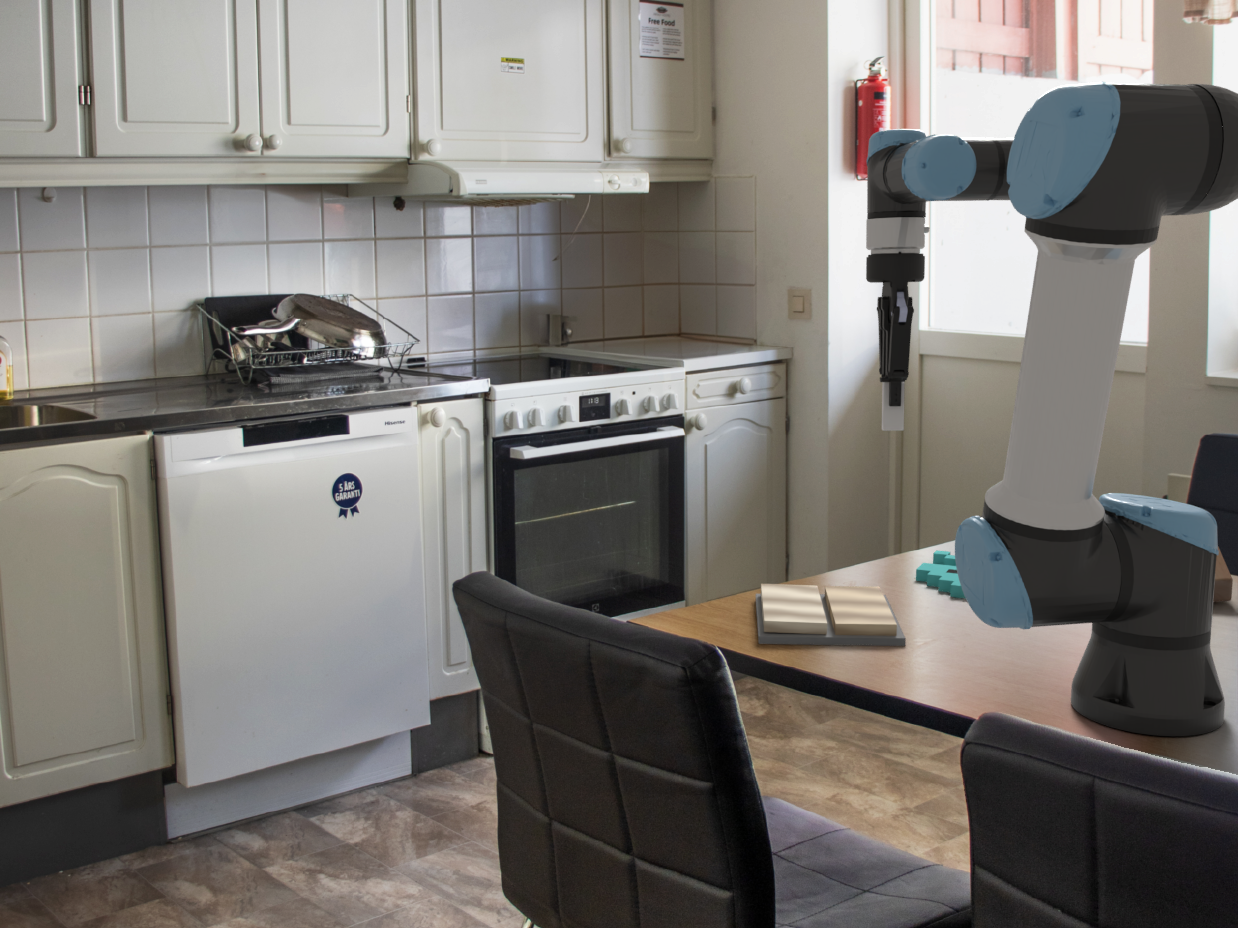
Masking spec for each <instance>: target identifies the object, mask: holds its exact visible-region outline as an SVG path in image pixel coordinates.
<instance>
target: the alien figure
mask: <svg viewBox="0 0 1238 928" xmlns="http://www.w3.org/2000/svg"><path fill="white" fill-rule="evenodd" d="M932 560H933V561H932V563H929V562H922V563H921V564H920V565H919V566H917V568H916V569H915V581H916V582H926V586H927V587H935V588H937V589H938V592H943V593H950V595H949V597H950V598H957V599H958V598H959V599H966V598H965V596H964V593H963V590H962V587H961V584H960V581H959V577H958V573H957V568H956V561H955V554H954V555H953V554H951V551H946V550H935V552H933V556H932Z"/></svg>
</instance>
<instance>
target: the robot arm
mask: <svg viewBox="0 0 1238 928" xmlns="http://www.w3.org/2000/svg"><path fill="white" fill-rule="evenodd" d="M869 137H870V138H869V139H868V147H867V148H868V151H867V157H866V166H867V173H866V174H867V176H866V177H867V179H866V181H867V183H866V184H867V185H866V187H867V190H866V191H867V197H866V198H867V200H866V201H867V207H866V209H867V210H866V211H867V212H866V213H867V216H866V217H867V218H866V220H865V221H866V222H865V223H866V225H865V226H866V230H865V233H866V235H865V237H866V238H865V242H866V246H865V248H866V249H867V251H870V254H868V255H867V256H866V261H865V262H866V269H865V276H866V277H865V279H866V281H867V282H868V283H871V284H872V283H875V284H877V283H882V289H881V296H878V297H877V304H876V305H877V307H876V312H877V321H878V352H879V353H878V354H879V355H878V356H879V359H878V360H879V368H878V369H879V370H878V372H879V375H881V377H879V382H880V383H881V386H882V387H881V388H882V389H881V431H884V432H886V431H887V432H891V431H894V432H898V431H900V432H901V431H905V383H906V381H907V380H908V378H909V375H910V374H909V373H910V371H909V365H910V354H911V351H910V349H911V338H912V322H913V318H914V317H913V316H914V313H915V309H914V306H913V297H912V296H910V295H909V286H908V285H909V283H918V282H919V283H921V282H922V281H924V280H925V270H926V267H925V266H926V262H925V261H926V256H925V255H924V253H921V250H923V249H924V248H925V243H926V242H925V240H926V234H928V233H929V232H930V226H929V225H925V224H926V215H927V213H926V208H927V207H926V206H927V202H964V201H965V202H966V201H967V202H968V201H969V202H970V201H974V202H975V201H1010V203H1011V205H1012V207H1013V208H1014V209H1015V211H1016V212H1017V213H1019V214H1020V215H1022V216H1024V217H1025V224H1024V233H1025V234H1026V235H1027V236H1028V237H1029V239H1030V240H1031V242H1032V243H1033V244H1034V245H1035V247H1036V249H1037V256H1036V260H1035V261H1036V263H1035V268H1034V269H1035V270H1034V276H1033V282H1032V288H1031V294H1030V301H1029V309H1028V314H1027V319H1026V320H1027V321H1026V329H1025V334H1024V340H1023V341H1024V342H1023V347H1022V352H1021V353H1022V354H1021V361H1020V368H1019V373H1018V378H1017V379H1018V380H1017V385H1016V392H1015V399H1014V406H1013V411H1012V413H1013V414H1012V419H1011V425H1010V432H1009V439H1008V444H1007V445H1008V447H1007V451H1006V452H1007V453H1006V458H1005V465H1004V471H1003V476H1002V477H1003V478H1002V480H1000V481H998V482H997V483H996V484H993V485H992V486H991V487H989V488H988V489H987V490H986V492H985V494H984V502H983V508H982V514H981V516H980V515H972V516H970V517H967V518H965V519H964V520H963V521H962V522H961V523H960V524H959V526H958V528H957V530H956V533H955V539H954V540H955V541H954V555H955V561H956V568H957V573H958V577H959V581H960V584H961V587H962V590H963V593H964V596H965V598H964V599H965V600H966V602H967V604H968V606H969V608H970V609H971V610H972V612H973V613H974V614H975V616H976V617H977V618H978V619H979V620H980V621H981V622H983V623H984V624H986V625H987V626H989V627H992V628H995V629H996V628H997V629H1014V628H1015V629H1018V628H1019V629H1021V630H1031V628H1035V627H1036V628H1037V627H1038V628H1039V627H1040V628H1041V627H1052V626H1066V625H1079V624H1081V625H1082V624H1091V633H1090V634H1091V635H1090V637H1089V641H1088V643H1087V645H1086V648H1085V650H1084V652H1083V655H1082V656H1081V659H1080V662H1079V664H1078V666H1077V669H1076V671H1075V673H1074V676H1073V679H1072V681H1071V693H1070V704H1071V706H1072V708H1073V709H1074V710H1075V711H1076V712H1077V713H1079V714H1080V715H1082V717H1085V718H1086V719H1089V720H1091V721H1093V722H1096V723H1098V724H1101V725H1104V726H1107V727H1110V728H1112V729H1116V730H1121V731H1125V732H1128V733H1130V732H1131V733H1136V734H1143V735H1149V736H1150V735H1151V736H1157V737H1158V736H1161V737H1188V736H1189V737H1190V736H1197V735H1198V736H1199V735H1203V734H1207V733H1210V732H1213V731H1215V730H1217V729H1219V728H1220V727H1221V726H1222V725H1223V723H1224V722H1225V721H1224V718H1225V708H1226V707H1225V706H1226V702H1225V696H1224V692H1223V690H1222V689H1223V688H1222V685H1221V682H1220V679H1219V678H1220V677H1219V675H1218V672H1217V669H1216V668H1217V667H1216V664H1215V660H1214V658H1213V655H1212V650H1211V638H1212V637H1211V636H1212V628H1213V627H1212V626H1213V625H1212V624H1213V611H1214V610H1213V609H1214V602H1213V598H1214V583H1215V569H1216V558H1217V555H1219V551H1218V547H1219V546H1218V545H1219V544H1218V542H1219V541H1218V524H1217V521H1216V518H1215V517H1214V515H1213V514H1212V513H1210V512H1209V511H1208V510H1207V509H1204V508H1202V507H1198V506H1195V505H1193V504H1189V503H1184V502H1180V501H1175V500H1171V499H1166V498H1161V497H1155V496H1147V495H1140V494H1132V493H1122V492H1121V493H1120V492H1109V493H1104V494H1101V495H1100V496H1099V497H1098V498H1097V497H1096V496H1095V494H1093V490H1094V485H1095V479H1096V475H1097V474H1096V473H1097V470H1098V462H1099V459H1100V451H1101V446H1102V442H1103V436H1104V430H1105V425H1106V420H1107V415H1108V409H1109V403H1110V397H1111V393H1112V388H1113V383H1114V382H1113V381H1114V376H1115V370H1116V365H1117V362H1118V361H1117V360H1118V355H1119V350H1120V344H1121V337H1122V333H1123V327H1124V323H1125V318H1126V317H1125V316H1126V312H1127V311H1126V310H1127V306H1128V301H1129V300H1128V299H1129V295H1130V289H1131V284H1132V279H1133V275H1134V267H1135V261H1136V259H1137V258H1138V257H1139V256H1140V255H1141V254H1143V253H1144V252H1146V251H1147V250H1149V249H1150V248H1151V247H1152V246H1154V245H1155V244H1156V243H1157V240H1158V235H1159V230H1160V227H1161V226H1160V225H1161V221H1162V216H1163V217H1165V216H1186V215H1187V216H1189V215H1196V214H1203V213H1208V212H1212V211H1216V210H1218V209H1221V208H1223V207H1225V206H1227V205H1229V204H1231V203H1233V202H1235V201H1236V200H1238V93H1237V92H1235V91H1233V90H1231V89H1228V88H1226V87H1222V86H1218V85H1212V84H1206V83H1189V84H1176V83H1175V84H1171V83H1170V84H1169V83H1168V84H1167V83H1166V84H1165V83H1130V82H1129V83H1126V82H1125V83H1124V82H1122V83H1121V82H1119V83H1118V82H1106V81H1099V82H1097V81H1094V82H1093V81H1092V82H1090V83H1089V82H1086V83H1077V84H1065V85H1064V84H1063V85H1060V86H1057V87H1053V88H1051V89H1049V90H1048V91H1046V92H1044V94H1041V96H1039V97H1038V98H1037V99H1036V101H1035V102H1034V104H1033V105H1032V106H1031V107H1030V108H1029V109H1028V110H1027V111H1026V113H1025V114H1024V116H1023V118H1022V119H1021V121H1020V123H1019V125H1018V127H1017V129H1016V132H1015V134H1014V137H1006V138H1004V137H1003V138H1001V137H1000V138H997V137H996V138H994V137H986V138H985V137H959V136H958V135H955V134H948V133H947V134H946V133H944V134H934V133H933V134H931V135H928V136H926V133H925V132H924V131H923V130H921V129H916V128H915V129H912V128H901V129H900V128H898V129H897V128H896V129H895V128H894V129H887V130H880V131H877V132H875V133H874V132H873V134H872V135H871V136H869Z"/></svg>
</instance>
